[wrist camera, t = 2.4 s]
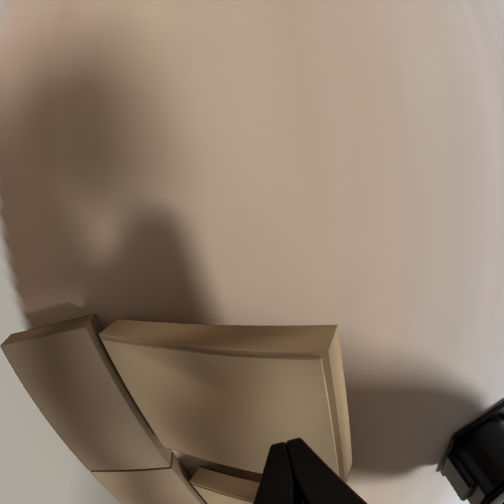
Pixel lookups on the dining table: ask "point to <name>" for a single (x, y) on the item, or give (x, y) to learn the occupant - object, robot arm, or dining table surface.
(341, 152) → the dining table surface
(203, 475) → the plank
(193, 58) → the dining table surface
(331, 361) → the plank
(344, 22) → the dining table surface
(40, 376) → the tan wooden tile
